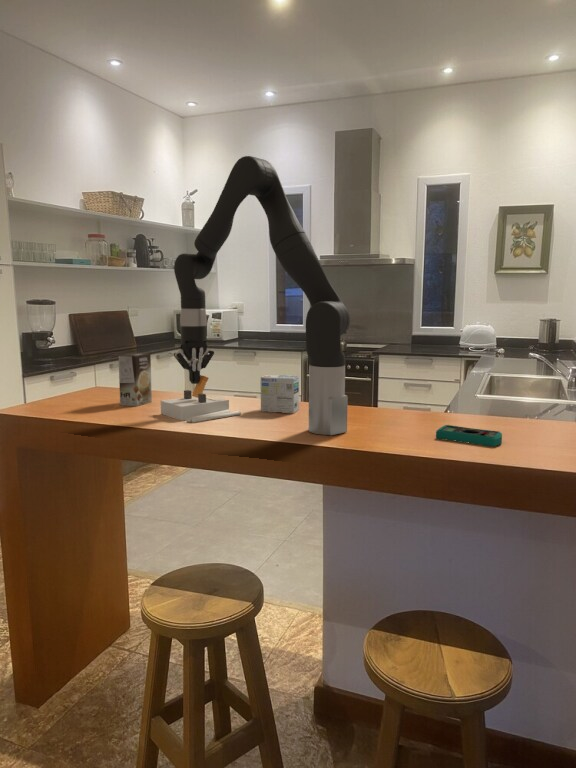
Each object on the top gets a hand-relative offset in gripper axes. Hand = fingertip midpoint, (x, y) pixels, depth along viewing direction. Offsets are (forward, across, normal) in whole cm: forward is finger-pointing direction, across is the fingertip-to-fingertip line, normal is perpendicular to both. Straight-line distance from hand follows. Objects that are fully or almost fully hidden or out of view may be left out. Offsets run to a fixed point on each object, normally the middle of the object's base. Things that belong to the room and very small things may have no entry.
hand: (194, 383), depth 167 cm
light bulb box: (+9, +22, -13) cm, 27 cm away
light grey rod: (+9, +1, -10) cm, 14 cm away
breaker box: (+9, 0, 0) cm, 9 cm away
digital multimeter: (+10, +34, -70) cm, 78 cm away
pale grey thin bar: (+9, 0, -8) cm, 12 cm away
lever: (+5, 0, 0) cm, 5 cm away
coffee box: (+9, -6, +26) cm, 28 cm away
